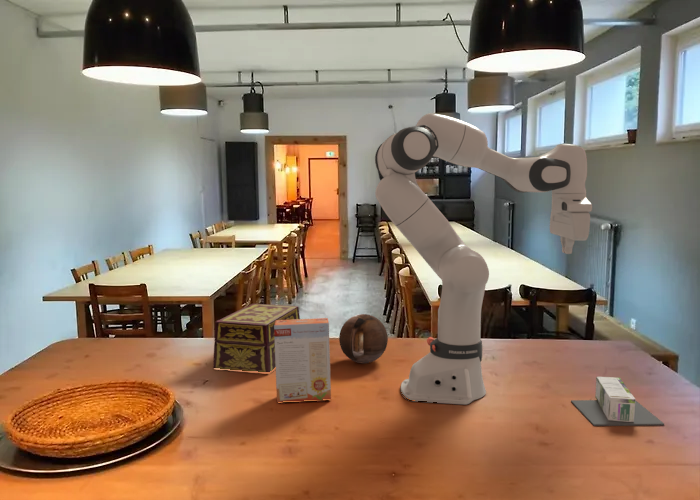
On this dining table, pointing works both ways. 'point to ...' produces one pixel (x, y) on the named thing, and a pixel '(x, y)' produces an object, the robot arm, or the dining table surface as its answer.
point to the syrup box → (615, 399)
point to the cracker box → (302, 359)
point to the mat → (598, 418)
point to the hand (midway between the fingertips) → (567, 253)
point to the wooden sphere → (363, 338)
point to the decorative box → (249, 337)
